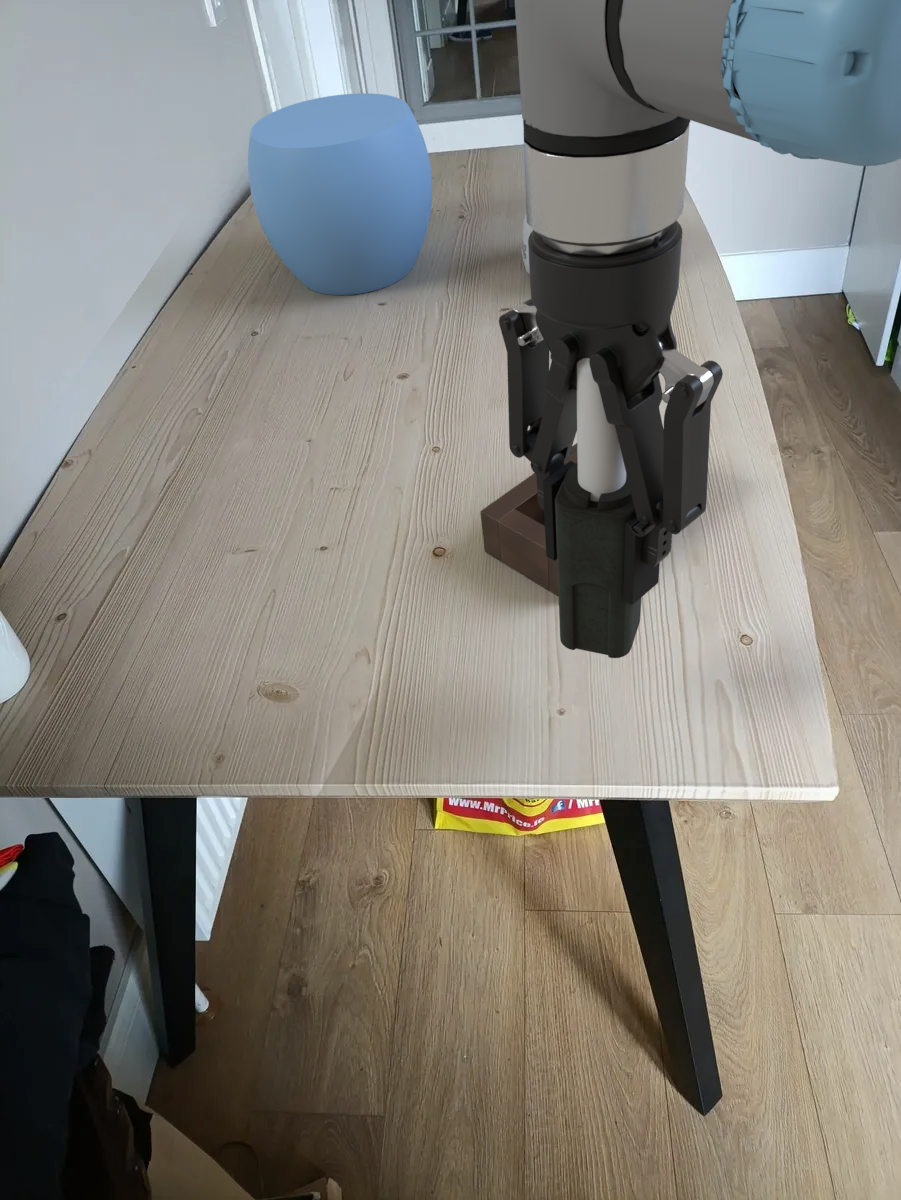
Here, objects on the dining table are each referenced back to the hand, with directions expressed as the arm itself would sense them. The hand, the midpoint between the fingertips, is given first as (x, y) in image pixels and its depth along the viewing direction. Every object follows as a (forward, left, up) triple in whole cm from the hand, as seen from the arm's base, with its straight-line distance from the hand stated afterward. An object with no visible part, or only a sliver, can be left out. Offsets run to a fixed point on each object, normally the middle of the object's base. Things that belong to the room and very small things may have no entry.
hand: (600, 568), depth 59 cm
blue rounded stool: (+78, -39, -15) cm, 89 cm away
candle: (0, 0, -6) cm, 6 cm away
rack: (+14, -16, -14) cm, 26 cm away
